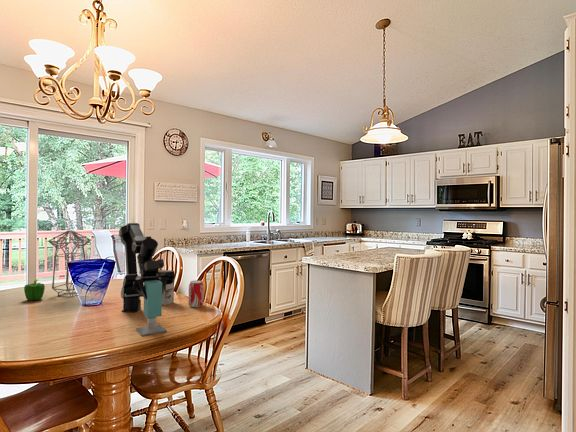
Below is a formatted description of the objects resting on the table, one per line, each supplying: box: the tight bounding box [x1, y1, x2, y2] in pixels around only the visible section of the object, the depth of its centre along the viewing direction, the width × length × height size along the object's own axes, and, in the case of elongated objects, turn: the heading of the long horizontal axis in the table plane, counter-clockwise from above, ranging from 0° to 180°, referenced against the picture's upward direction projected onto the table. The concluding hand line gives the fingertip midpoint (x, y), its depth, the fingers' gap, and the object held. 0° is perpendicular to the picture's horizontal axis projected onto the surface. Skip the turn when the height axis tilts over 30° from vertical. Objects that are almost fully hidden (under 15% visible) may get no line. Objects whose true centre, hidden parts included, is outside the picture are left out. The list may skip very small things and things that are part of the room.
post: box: [146, 317, 157, 331], centre depth 135 cm, size 3×3×4 cm
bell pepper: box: [23, 278, 45, 302], centre depth 178 cm, size 8×8×10 cm
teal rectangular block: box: [143, 280, 163, 319], centre depth 135 cm, size 5×5×13 cm
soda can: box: [188, 280, 205, 308], centre depth 172 cm, size 7×7×12 cm
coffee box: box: [157, 269, 175, 306], centre depth 177 cm, size 9×6×16 cm
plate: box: [135, 323, 168, 337], centre depth 135 cm, size 9×9×1 cm
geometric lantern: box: [46, 229, 92, 298], centre depth 188 cm, size 16×16×35 cm
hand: (153, 297), depth 134 cm, fingers closed on teal rectangular block, 5 cm apart
